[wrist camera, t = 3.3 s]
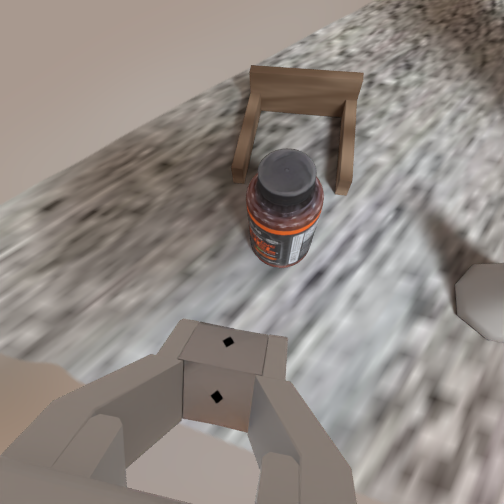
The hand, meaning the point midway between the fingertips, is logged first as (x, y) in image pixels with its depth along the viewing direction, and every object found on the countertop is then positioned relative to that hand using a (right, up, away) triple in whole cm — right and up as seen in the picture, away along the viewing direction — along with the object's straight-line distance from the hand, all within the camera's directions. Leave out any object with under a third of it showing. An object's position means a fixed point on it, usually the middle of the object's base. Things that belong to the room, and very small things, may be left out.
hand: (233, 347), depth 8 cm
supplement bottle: (+3, +4, +22) cm, 23 cm away
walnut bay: (+6, +15, +27) cm, 32 cm away
